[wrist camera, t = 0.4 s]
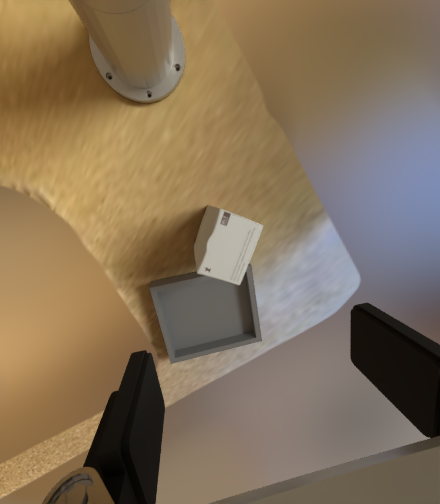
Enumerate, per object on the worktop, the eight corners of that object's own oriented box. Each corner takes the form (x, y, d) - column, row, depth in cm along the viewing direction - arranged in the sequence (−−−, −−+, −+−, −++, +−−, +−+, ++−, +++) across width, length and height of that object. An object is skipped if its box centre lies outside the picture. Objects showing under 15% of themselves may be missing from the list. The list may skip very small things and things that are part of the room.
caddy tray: (151, 281, 41) (149, 288, 39) (246, 260, 43) (251, 265, 40) (171, 352, 46) (171, 363, 43) (257, 331, 48) (261, 340, 45)
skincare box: (222, 256, 42) (241, 290, 28) (190, 246, 41) (194, 277, 27) (238, 213, 41) (268, 226, 26) (206, 201, 39) (219, 208, 25)
